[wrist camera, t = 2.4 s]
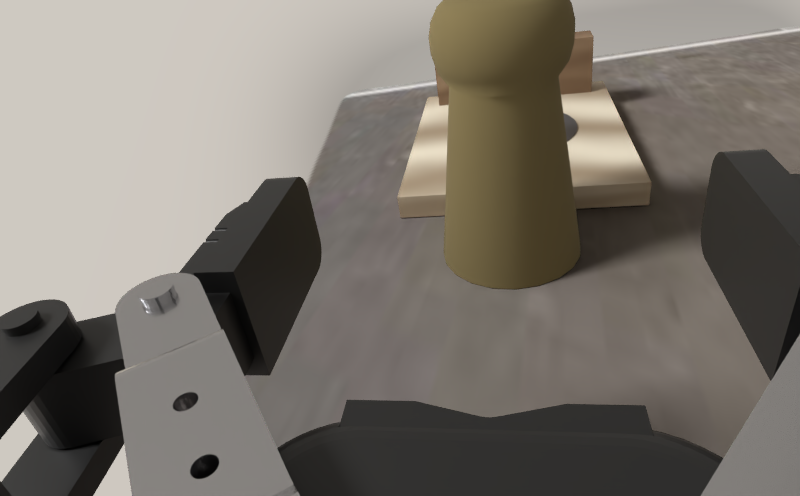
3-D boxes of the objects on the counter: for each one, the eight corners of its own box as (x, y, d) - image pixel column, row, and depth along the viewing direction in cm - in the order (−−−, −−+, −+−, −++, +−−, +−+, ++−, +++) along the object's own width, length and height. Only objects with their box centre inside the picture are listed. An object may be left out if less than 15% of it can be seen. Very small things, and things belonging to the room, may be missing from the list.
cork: (568, 298, 22) (573, -4, 16) (424, 278, 25) (383, 10, 19) (590, 219, 27) (601, -40, 21) (467, 209, 29) (445, -25, 23)
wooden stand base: (649, 204, 27) (659, 109, 24) (400, 217, 29) (386, 131, 27) (601, 98, 39) (605, 27, 37) (429, 113, 42) (422, 47, 39)
